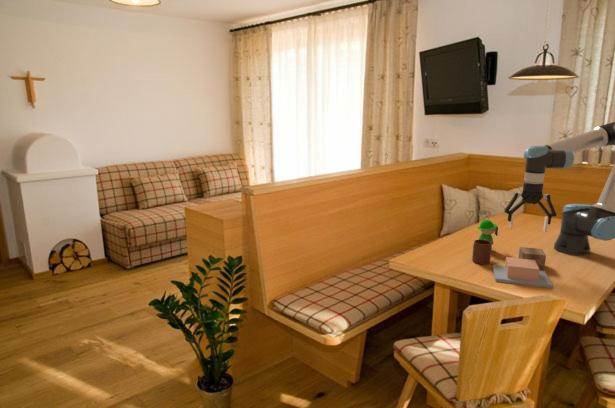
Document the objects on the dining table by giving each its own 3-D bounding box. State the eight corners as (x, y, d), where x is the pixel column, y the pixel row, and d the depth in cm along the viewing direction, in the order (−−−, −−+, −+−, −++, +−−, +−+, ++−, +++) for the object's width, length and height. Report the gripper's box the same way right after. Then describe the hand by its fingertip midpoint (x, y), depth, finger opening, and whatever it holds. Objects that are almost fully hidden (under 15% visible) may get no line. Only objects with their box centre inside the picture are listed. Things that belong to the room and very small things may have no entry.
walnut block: (540, 263, 191) (542, 249, 190) (544, 270, 183) (546, 255, 181) (518, 261, 194) (519, 246, 193) (520, 268, 186) (522, 253, 184)
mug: (476, 255, 202) (478, 236, 200) (493, 258, 198) (495, 238, 196) (470, 262, 192) (472, 242, 190) (488, 266, 188) (490, 245, 186)
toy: (496, 253, 205) (499, 222, 201) (477, 251, 206) (480, 221, 203) (492, 247, 213) (495, 218, 210) (473, 246, 215) (476, 217, 212)
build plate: (544, 273, 180) (546, 259, 178) (551, 288, 165) (553, 273, 164) (492, 267, 186) (494, 253, 185) (495, 281, 172) (497, 266, 170)
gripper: (564, 182, 183) (557, 230, 187) (500, 179, 190) (495, 225, 194) (568, 185, 176) (561, 234, 180) (503, 182, 183) (497, 229, 187)
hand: (527, 230), depth 187 cm, fingers open, 13 cm apart
